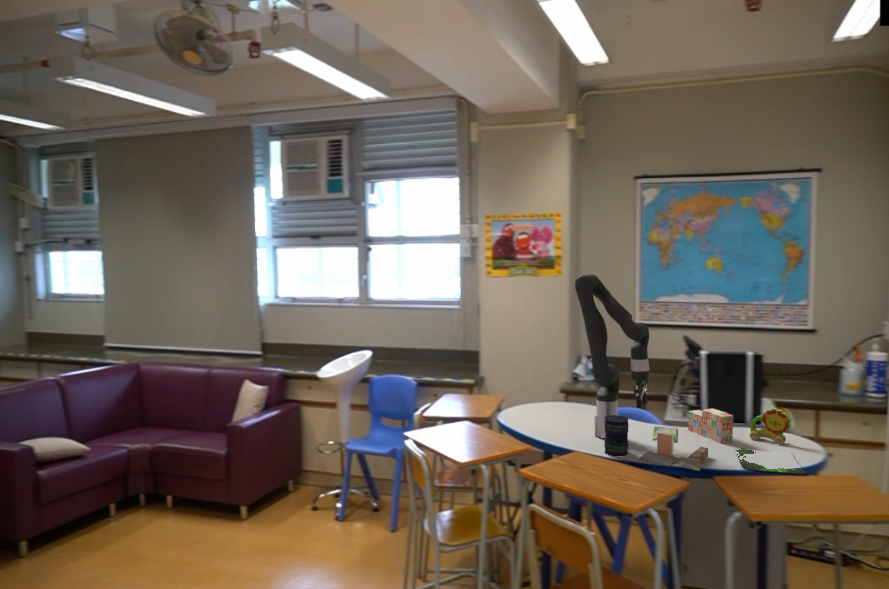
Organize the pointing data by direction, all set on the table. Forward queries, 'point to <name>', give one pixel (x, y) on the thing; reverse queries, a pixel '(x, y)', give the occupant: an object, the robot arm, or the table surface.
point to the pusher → (695, 459)
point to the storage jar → (616, 435)
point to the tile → (665, 443)
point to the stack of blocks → (711, 424)
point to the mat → (658, 459)
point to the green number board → (665, 430)
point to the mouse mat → (761, 468)
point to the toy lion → (772, 426)
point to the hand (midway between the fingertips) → (642, 405)
